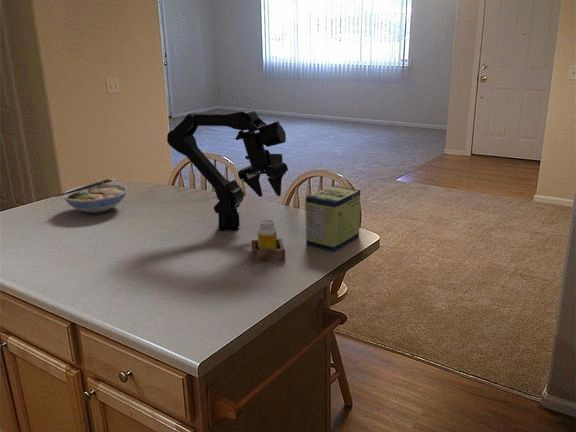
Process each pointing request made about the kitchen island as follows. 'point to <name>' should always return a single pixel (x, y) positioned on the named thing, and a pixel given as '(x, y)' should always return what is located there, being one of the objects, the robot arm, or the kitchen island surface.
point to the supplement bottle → (267, 235)
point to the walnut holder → (268, 252)
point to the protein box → (332, 217)
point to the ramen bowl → (95, 196)
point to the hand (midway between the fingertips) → (270, 196)
